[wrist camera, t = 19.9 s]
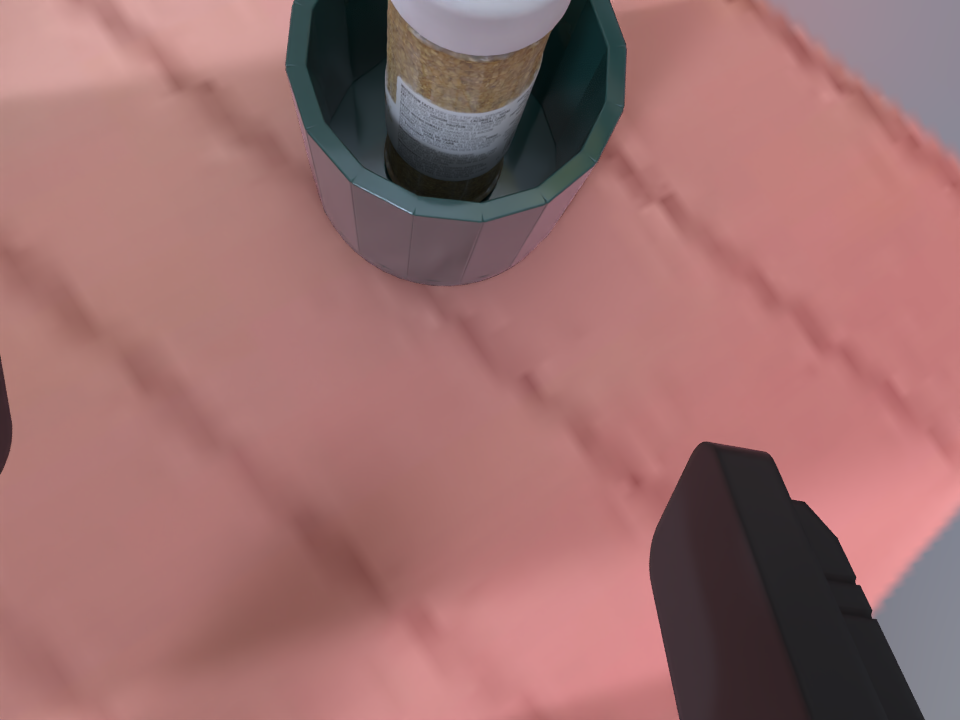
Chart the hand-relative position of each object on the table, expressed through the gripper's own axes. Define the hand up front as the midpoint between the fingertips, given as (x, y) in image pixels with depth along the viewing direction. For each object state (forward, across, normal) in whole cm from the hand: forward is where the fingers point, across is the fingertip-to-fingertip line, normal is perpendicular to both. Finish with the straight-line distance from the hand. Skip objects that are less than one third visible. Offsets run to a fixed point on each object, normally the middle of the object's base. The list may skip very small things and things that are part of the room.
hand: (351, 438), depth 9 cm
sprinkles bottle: (+22, -1, +5) cm, 22 cm away
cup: (+22, -1, +5) cm, 23 cm away
